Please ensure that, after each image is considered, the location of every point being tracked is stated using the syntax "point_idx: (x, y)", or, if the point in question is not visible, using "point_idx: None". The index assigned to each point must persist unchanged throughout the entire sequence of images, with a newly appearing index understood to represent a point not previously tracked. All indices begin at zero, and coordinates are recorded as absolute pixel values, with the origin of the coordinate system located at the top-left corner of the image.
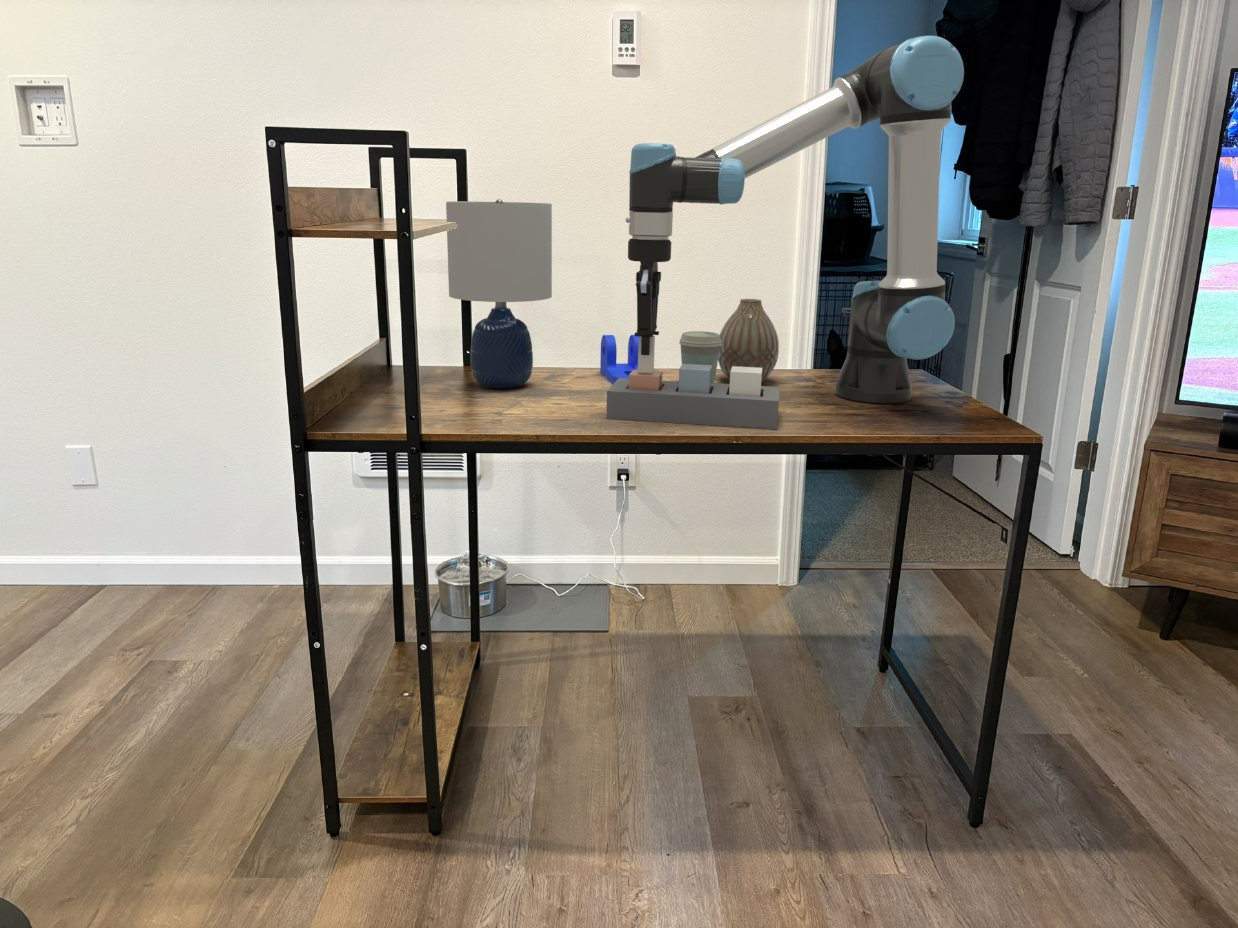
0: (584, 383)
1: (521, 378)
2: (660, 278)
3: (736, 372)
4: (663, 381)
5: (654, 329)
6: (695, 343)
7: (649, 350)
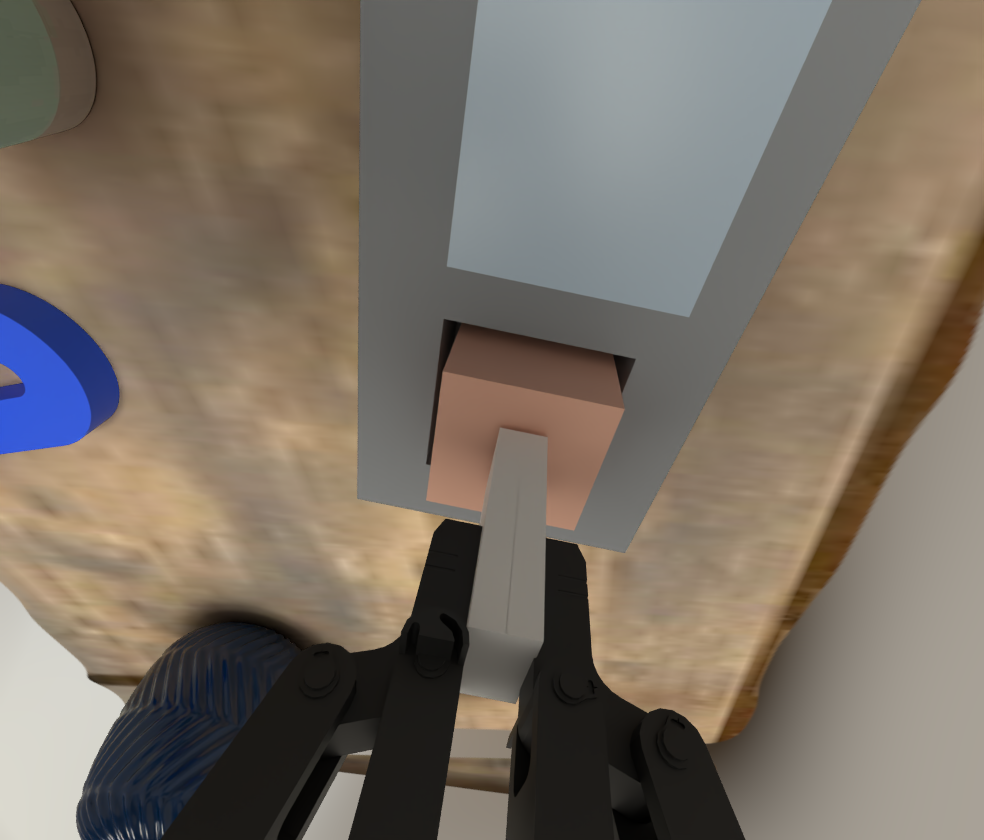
0: (122, 499)
1: (274, 651)
2: None
3: None
4: (384, 322)
5: (436, 685)
6: None
7: (553, 564)
